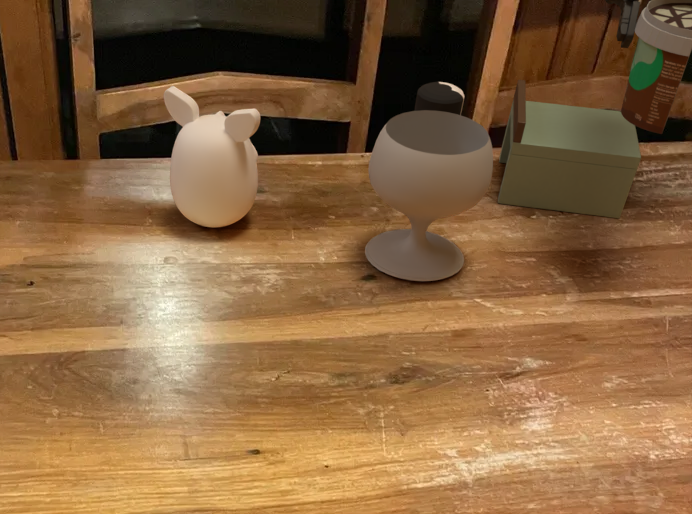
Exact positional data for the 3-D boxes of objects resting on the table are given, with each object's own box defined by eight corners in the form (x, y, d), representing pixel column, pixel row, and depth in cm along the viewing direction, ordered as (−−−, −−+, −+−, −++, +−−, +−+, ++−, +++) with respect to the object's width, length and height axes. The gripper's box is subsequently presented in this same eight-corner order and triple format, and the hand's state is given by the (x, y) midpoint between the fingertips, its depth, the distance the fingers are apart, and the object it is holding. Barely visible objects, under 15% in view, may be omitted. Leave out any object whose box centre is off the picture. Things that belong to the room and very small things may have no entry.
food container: (620, 85, 106) (650, -16, 99) (675, 95, 105) (711, -7, 97) (600, 128, 99) (631, 22, 91) (659, 139, 97) (696, 33, 90)
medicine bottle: (423, 197, 125) (441, 103, 116) (388, 176, 129) (402, 83, 120) (461, 184, 128) (481, 91, 119) (425, 164, 132) (442, 72, 122)
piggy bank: (269, 205, 122) (277, 82, 111) (248, 249, 115) (253, 122, 103) (179, 191, 124) (176, 69, 112) (151, 233, 116) (146, 107, 105)
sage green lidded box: (612, 171, 132) (639, 92, 124) (619, 218, 123) (648, 137, 115) (499, 158, 134) (518, 79, 126) (497, 203, 125) (518, 121, 117)
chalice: (364, 287, 110) (382, 159, 98) (351, 228, 119) (366, 104, 108) (481, 289, 111) (513, 161, 99) (459, 230, 120) (486, 107, 108)
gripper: (635, -153, 92) (603, 21, 93) (786, -140, 91) (751, 37, 92) (613, -102, 99) (584, 59, 101) (752, -89, 98) (720, 74, 100)
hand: (664, 48), depth 96 cm, fingers closed on food container, 7 cm apart
